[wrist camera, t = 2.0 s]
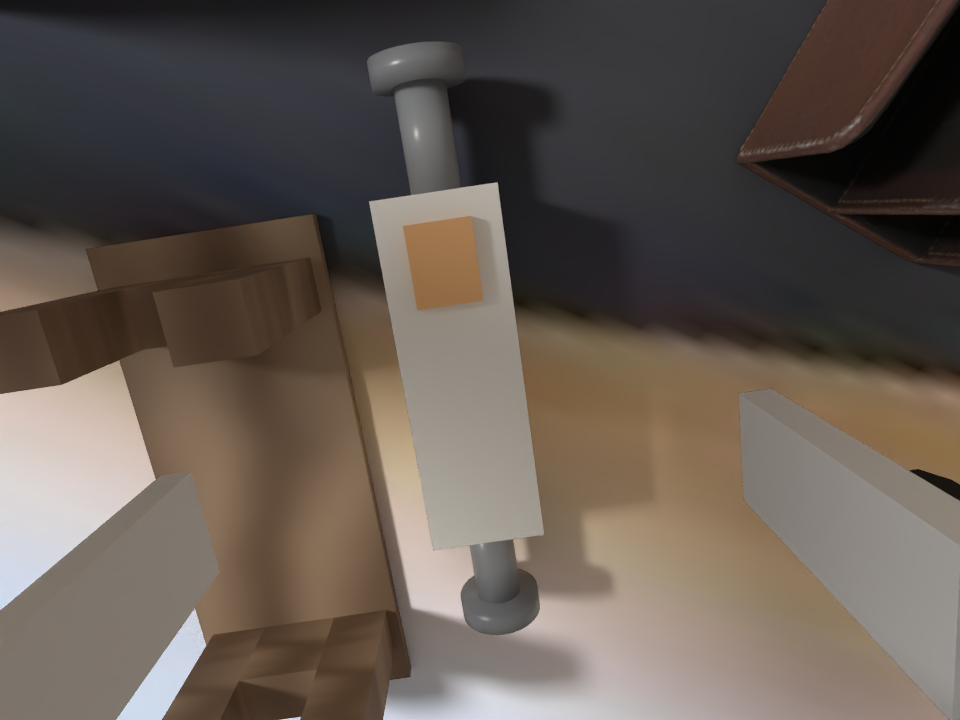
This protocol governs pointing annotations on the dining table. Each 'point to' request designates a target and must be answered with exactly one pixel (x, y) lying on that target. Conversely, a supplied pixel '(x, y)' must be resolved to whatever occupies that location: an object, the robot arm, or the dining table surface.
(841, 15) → the letter holder
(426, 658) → the dining table surface
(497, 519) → the white block with pegs
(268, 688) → the cradle rack
